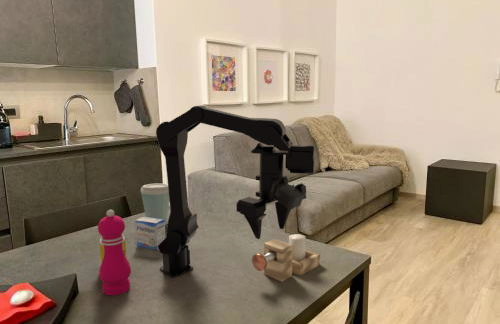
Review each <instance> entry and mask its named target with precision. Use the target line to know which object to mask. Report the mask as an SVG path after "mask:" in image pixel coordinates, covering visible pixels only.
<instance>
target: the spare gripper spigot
mask: <svg viewBox="0 0 500 324" xmlns="http://www.w3.org/2000/svg"><path fill="white" fill-rule="evenodd" d="M306 240H307V239H306V236H305V235H304V234H299V233H298V234H295V233H294V234H291V235H289V236H288V244H291V245H292V259H293V260H295V261H298V262H301V261H302V260H304V259H305V249H306Z"/></svg>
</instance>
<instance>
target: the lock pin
mask: <svg viewBox="0 0 500 324" xmlns="http://www.w3.org/2000/svg"><path fill="white" fill-rule="evenodd" d="M275 259H277V252H275V251H272V252H270V253H268V254H266V255H264V254H262V253H256V254H254V255H253V256H252V258H251V263H252V266H253V267H254V269H255V270H256V271H258V272H262V271H263V270H264V269H265V268H266V266H267V263H268V262H270V261H273V260H275Z"/></svg>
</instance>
